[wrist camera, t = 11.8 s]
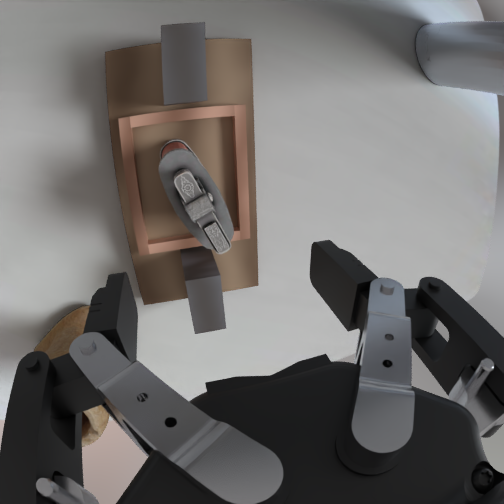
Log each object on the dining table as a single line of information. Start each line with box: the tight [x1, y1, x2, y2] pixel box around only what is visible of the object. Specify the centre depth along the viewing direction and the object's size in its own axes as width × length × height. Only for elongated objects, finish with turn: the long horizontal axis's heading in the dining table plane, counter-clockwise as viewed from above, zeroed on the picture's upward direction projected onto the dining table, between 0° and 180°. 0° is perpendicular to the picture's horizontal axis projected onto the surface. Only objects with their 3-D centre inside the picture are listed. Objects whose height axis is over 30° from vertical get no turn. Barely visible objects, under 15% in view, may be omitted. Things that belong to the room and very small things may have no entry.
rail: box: [105, 22, 258, 334], centre depth 25 cm, size 13×26×8 cm, turn 1°
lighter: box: [159, 139, 234, 254], centre depth 23 cm, size 8×3×10 cm, turn 23°
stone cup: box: [34, 306, 109, 447], centre depth 27 cm, size 15×12×15 cm
